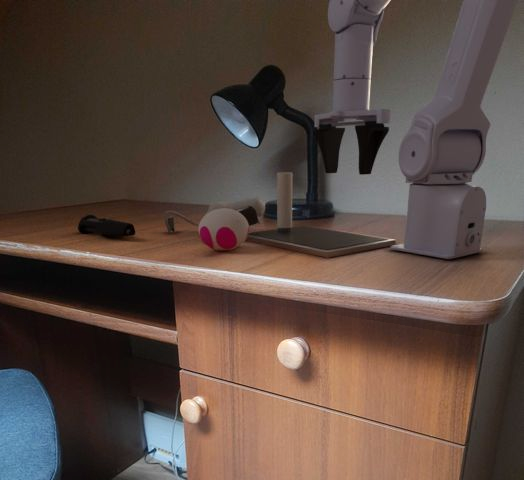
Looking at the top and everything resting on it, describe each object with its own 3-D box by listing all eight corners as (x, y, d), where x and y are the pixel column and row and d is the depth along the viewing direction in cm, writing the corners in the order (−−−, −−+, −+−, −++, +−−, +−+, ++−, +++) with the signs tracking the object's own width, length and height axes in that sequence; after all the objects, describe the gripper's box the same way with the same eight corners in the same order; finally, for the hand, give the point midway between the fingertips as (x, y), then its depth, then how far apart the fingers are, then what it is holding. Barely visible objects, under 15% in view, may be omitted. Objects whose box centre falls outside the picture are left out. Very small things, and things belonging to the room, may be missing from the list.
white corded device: (157, 255, 83) (259, 233, 78) (144, 218, 80) (249, 192, 75) (180, 237, 93) (271, 216, 88) (169, 203, 90) (262, 180, 85)
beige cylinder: (295, 231, 81) (295, 172, 77) (283, 232, 79) (283, 173, 76) (285, 229, 82) (285, 172, 79) (274, 230, 81) (274, 172, 78)
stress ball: (197, 272, 72) (178, 239, 67) (218, 234, 76) (201, 199, 71) (243, 275, 69) (227, 240, 64) (262, 235, 73) (248, 198, 68)
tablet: (395, 245, 73) (396, 238, 72) (327, 258, 65) (327, 251, 64) (304, 230, 87) (304, 224, 87) (239, 239, 79) (239, 233, 79)
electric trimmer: (121, 244, 78) (118, 223, 77) (76, 233, 88) (73, 214, 87) (141, 241, 80) (140, 221, 79) (96, 230, 90) (93, 212, 89)
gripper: (301, 84, 80) (300, 173, 85) (370, 73, 69) (364, 176, 74) (332, 86, 84) (329, 171, 89) (402, 76, 73) (394, 174, 78)
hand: (347, 173), depth 82 cm, fingers open, 7 cm apart
